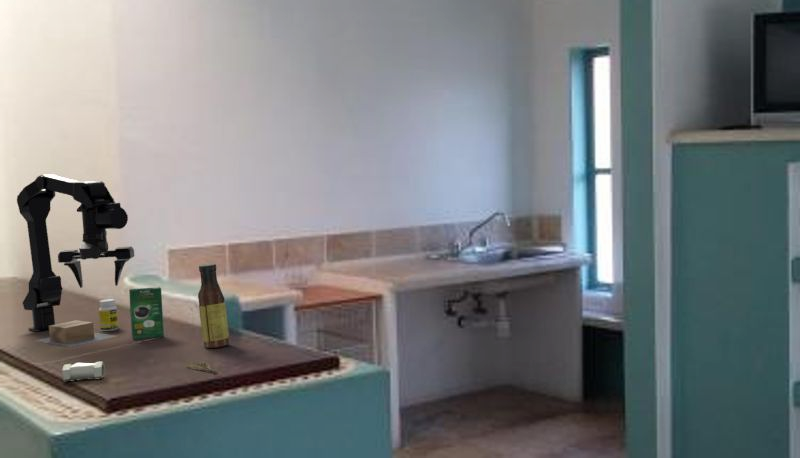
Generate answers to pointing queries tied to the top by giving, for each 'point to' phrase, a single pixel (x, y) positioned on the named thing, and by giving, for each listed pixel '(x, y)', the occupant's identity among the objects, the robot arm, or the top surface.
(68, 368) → the pipe fitting
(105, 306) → the supplement bottle
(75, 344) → the build mat
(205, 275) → the sauce bottle
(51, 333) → the base block
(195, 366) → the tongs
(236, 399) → the top surface
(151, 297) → the coffee box
